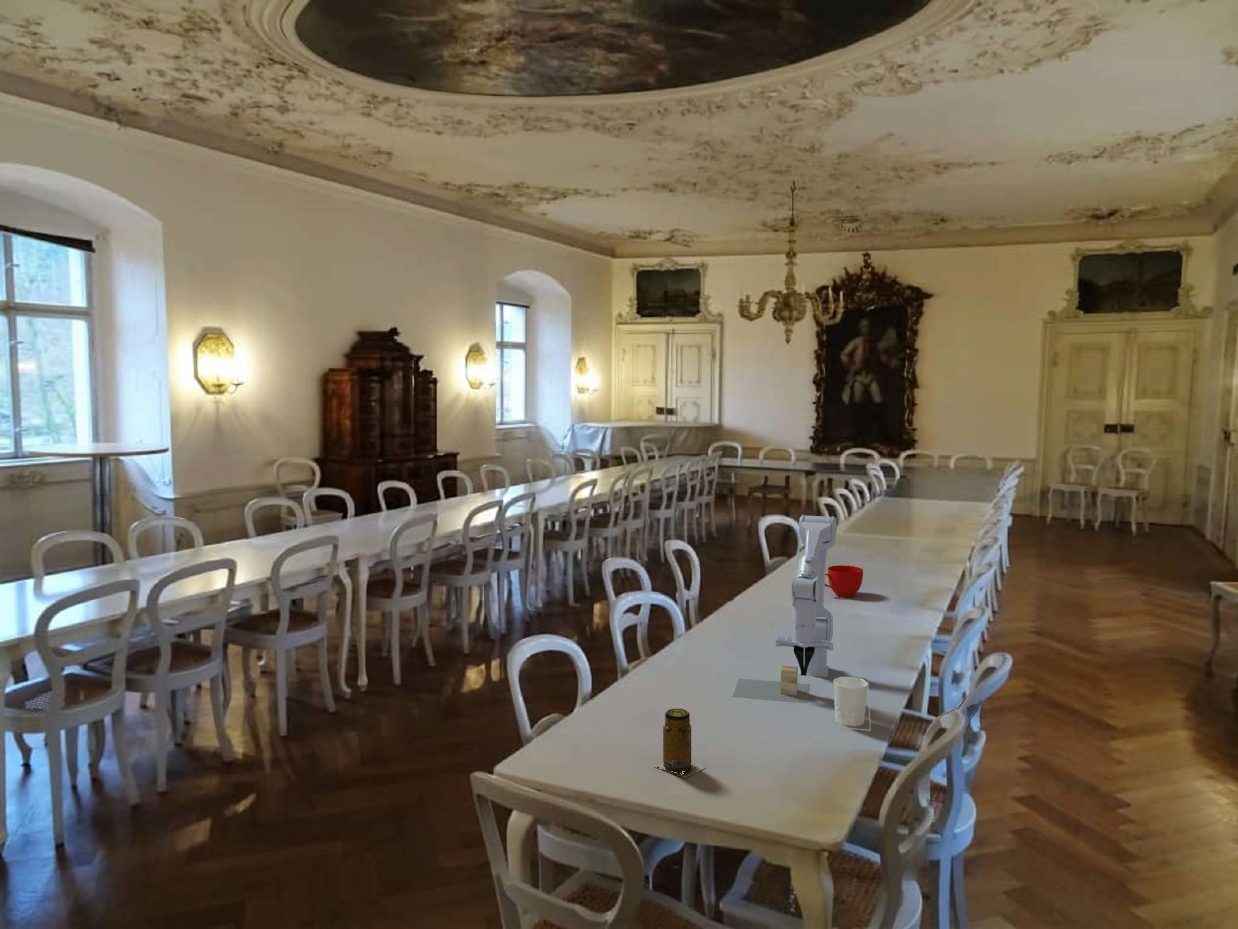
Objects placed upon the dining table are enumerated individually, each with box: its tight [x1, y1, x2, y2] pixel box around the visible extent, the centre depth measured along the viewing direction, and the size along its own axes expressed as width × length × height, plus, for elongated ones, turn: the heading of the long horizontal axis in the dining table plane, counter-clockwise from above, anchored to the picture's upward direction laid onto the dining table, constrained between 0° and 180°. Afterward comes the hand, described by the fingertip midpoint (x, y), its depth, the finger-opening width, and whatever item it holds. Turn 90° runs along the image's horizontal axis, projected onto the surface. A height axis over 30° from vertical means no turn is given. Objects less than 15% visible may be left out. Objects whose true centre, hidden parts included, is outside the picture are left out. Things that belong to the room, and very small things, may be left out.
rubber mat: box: [732, 677, 811, 704], centre depth 233 cm, size 14×19×1 cm
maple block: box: [780, 664, 799, 695], centre depth 231 cm, size 4×4×6 cm
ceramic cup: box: [825, 564, 864, 598], centre depth 332 cm, size 13×17×10 cm
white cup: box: [833, 676, 869, 727], centre depth 212 cm, size 8×8×10 cm
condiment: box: [653, 707, 707, 779], centre depth 188 cm, size 7×8×12 cm
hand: (803, 674), depth 230 cm, fingers closed
